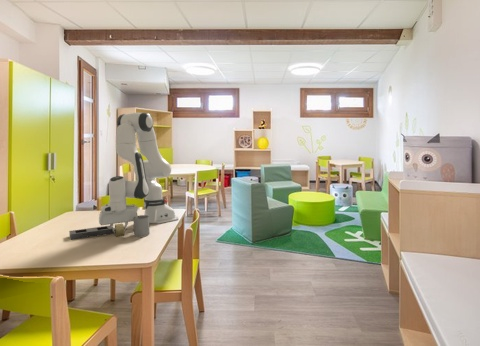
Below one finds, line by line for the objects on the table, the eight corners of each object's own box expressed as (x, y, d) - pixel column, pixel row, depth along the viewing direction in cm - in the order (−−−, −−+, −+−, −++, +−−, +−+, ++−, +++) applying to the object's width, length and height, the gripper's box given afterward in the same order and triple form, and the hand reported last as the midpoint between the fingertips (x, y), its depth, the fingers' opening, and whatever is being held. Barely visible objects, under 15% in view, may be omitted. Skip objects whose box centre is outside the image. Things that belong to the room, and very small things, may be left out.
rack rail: (111, 230, 199) (111, 225, 198) (114, 233, 192) (113, 228, 191) (69, 236, 188) (69, 230, 187) (70, 240, 181) (70, 234, 180)
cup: (151, 232, 194) (150, 215, 193) (147, 236, 186) (147, 218, 185) (136, 232, 194) (135, 215, 193) (132, 236, 185) (131, 218, 184)
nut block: (122, 233, 191) (122, 223, 190) (124, 235, 188) (123, 225, 187) (115, 235, 189) (114, 224, 188) (116, 236, 186) (116, 226, 185)
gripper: (135, 203, 195) (137, 226, 196) (97, 207, 184) (99, 232, 186) (138, 205, 189) (139, 229, 191) (99, 209, 179) (100, 234, 180)
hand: (119, 230), depth 188 cm, fingers closed on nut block, 4 cm apart
